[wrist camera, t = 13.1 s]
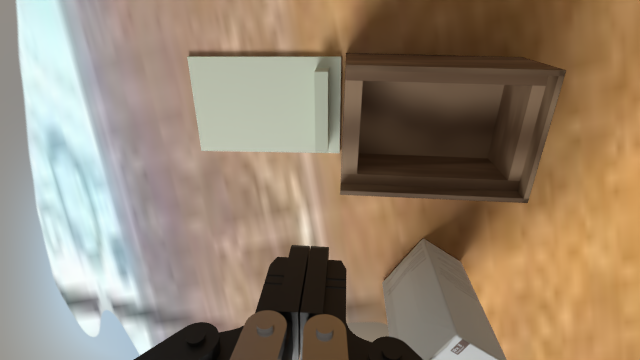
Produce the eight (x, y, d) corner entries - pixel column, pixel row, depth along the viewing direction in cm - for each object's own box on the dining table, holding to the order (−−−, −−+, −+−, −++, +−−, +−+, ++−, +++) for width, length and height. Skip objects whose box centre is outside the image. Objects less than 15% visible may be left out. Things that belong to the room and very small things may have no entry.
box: (346, 53, 34) (345, 64, 28) (522, 57, 34) (566, 70, 27) (341, 162, 39) (340, 194, 33) (496, 168, 38) (527, 202, 32)
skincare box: (417, 302, 47) (446, 422, 33) (378, 280, 46) (391, 394, 32) (463, 257, 43) (515, 371, 30) (422, 232, 42) (458, 338, 29)
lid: (191, 55, 36) (176, 60, 33) (341, 55, 35) (340, 60, 32) (204, 147, 40) (192, 159, 37) (339, 149, 39) (339, 162, 36)
